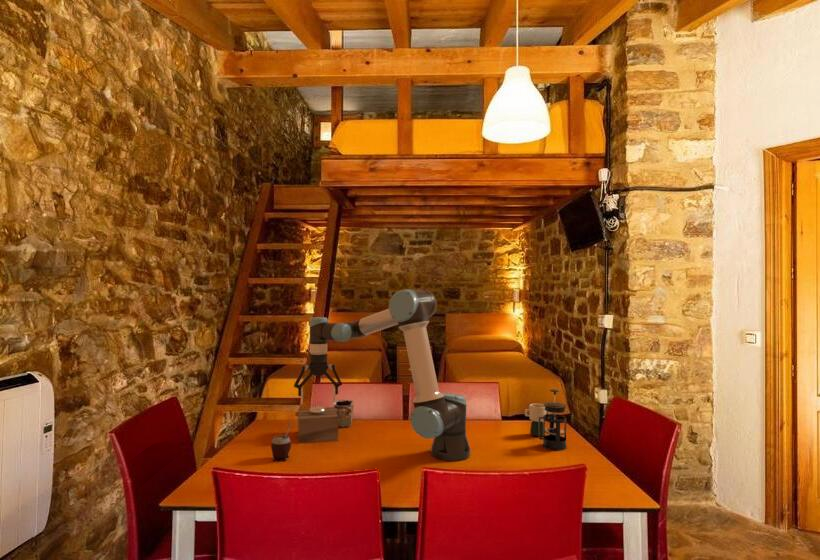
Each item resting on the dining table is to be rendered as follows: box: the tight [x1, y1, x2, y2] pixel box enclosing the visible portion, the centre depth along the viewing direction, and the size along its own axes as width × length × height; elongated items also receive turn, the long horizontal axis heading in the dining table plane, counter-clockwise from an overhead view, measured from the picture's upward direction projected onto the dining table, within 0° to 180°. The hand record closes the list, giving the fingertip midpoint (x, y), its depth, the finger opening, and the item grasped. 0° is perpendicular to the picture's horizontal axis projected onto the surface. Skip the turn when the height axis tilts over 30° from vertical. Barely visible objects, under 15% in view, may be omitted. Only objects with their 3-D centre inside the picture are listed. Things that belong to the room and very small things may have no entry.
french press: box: [538, 388, 568, 451], centre depth 196 cm, size 12×9×23 cm
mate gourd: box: [270, 418, 298, 463], centre depth 179 cm, size 8×8×15 cm
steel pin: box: [309, 405, 326, 415], centre depth 206 cm, size 6×6×12 cm
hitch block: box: [297, 406, 339, 444], centre depth 206 cm, size 16×16×10 cm
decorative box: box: [332, 399, 354, 428], centre depth 228 cm, size 13×20×10 cm, turn 177°
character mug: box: [524, 403, 552, 437], centre depth 211 cm, size 11×7×13 cm, turn 80°
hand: (318, 403), depth 206 cm, fingers open, 13 cm apart
